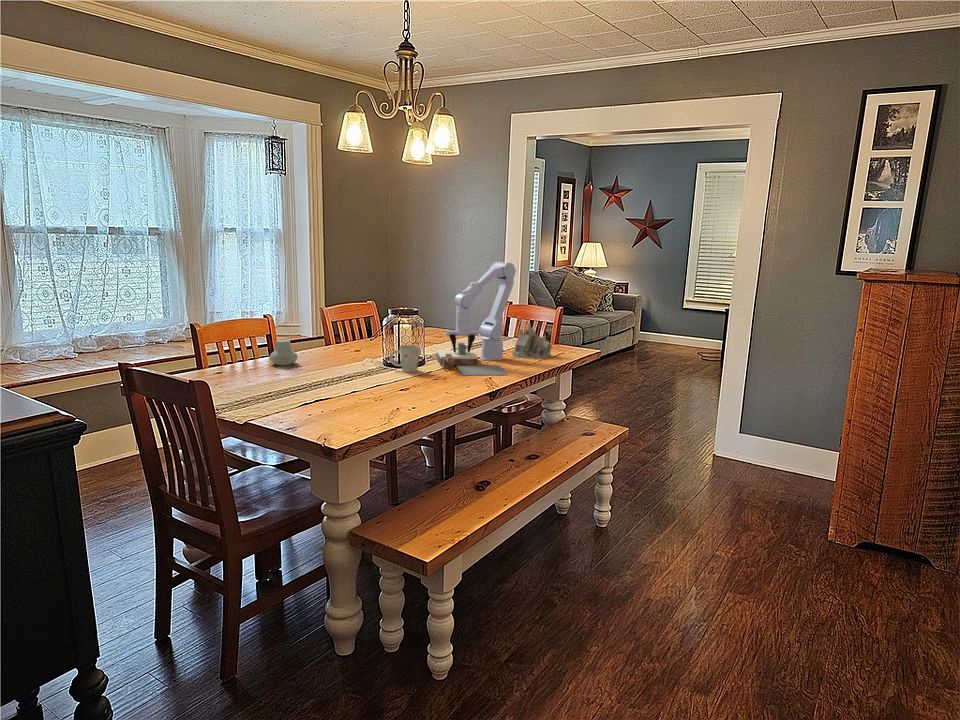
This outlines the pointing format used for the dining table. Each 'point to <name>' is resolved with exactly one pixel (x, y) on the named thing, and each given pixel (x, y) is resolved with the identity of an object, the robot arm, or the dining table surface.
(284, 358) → the air freshener
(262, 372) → the dining table surface
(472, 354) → the lid
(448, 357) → the key
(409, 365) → the mug
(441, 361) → the brown wooden tray
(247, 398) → the dining table surface
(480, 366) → the mat
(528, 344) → the ceramic cottage
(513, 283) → the robot arm
